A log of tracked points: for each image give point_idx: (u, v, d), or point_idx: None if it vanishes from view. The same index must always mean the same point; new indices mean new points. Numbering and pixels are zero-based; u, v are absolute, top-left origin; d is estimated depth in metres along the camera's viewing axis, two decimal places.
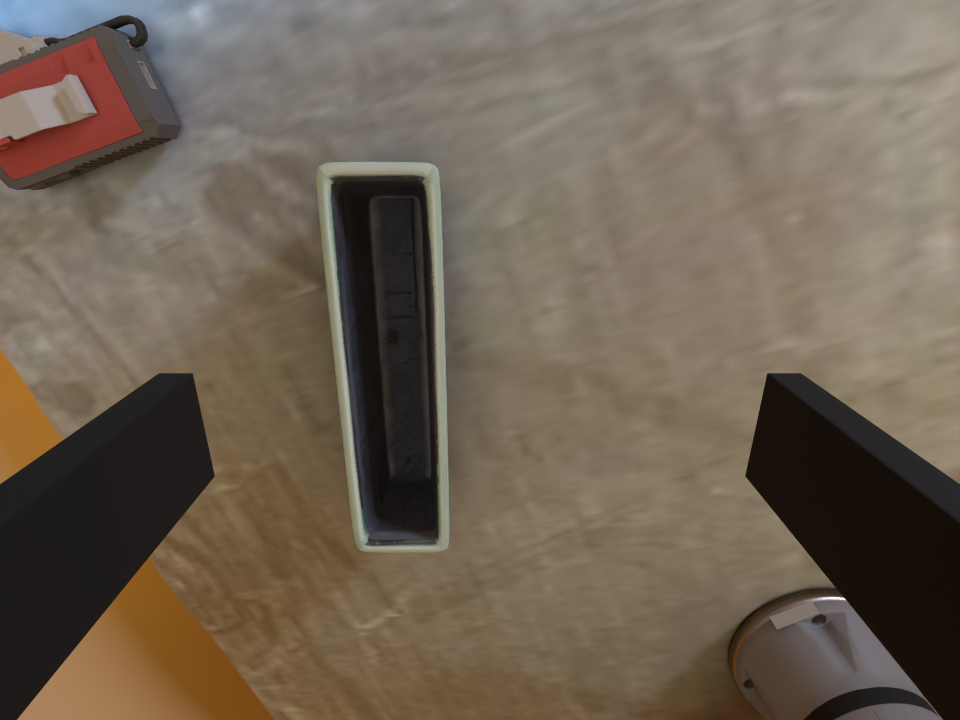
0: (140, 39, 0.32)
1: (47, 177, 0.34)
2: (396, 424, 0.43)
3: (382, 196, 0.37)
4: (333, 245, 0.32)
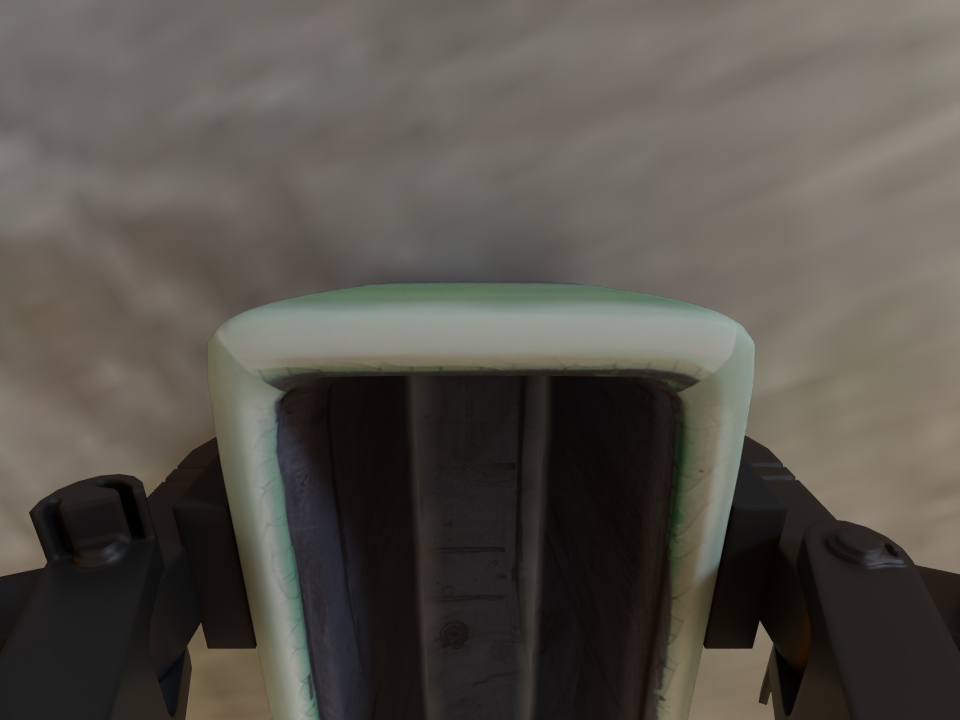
0: None
1: None
2: None
3: None
4: (293, 604, 0.08)
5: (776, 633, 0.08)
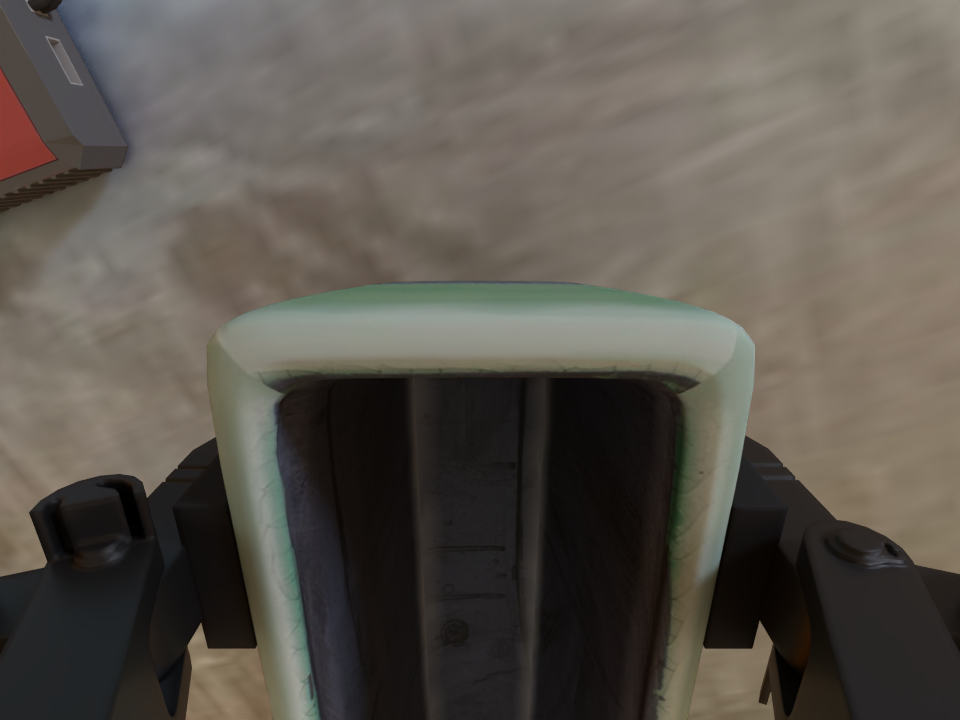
0: None
1: None
2: None
3: None
4: (293, 605, 0.08)
5: (776, 633, 0.08)
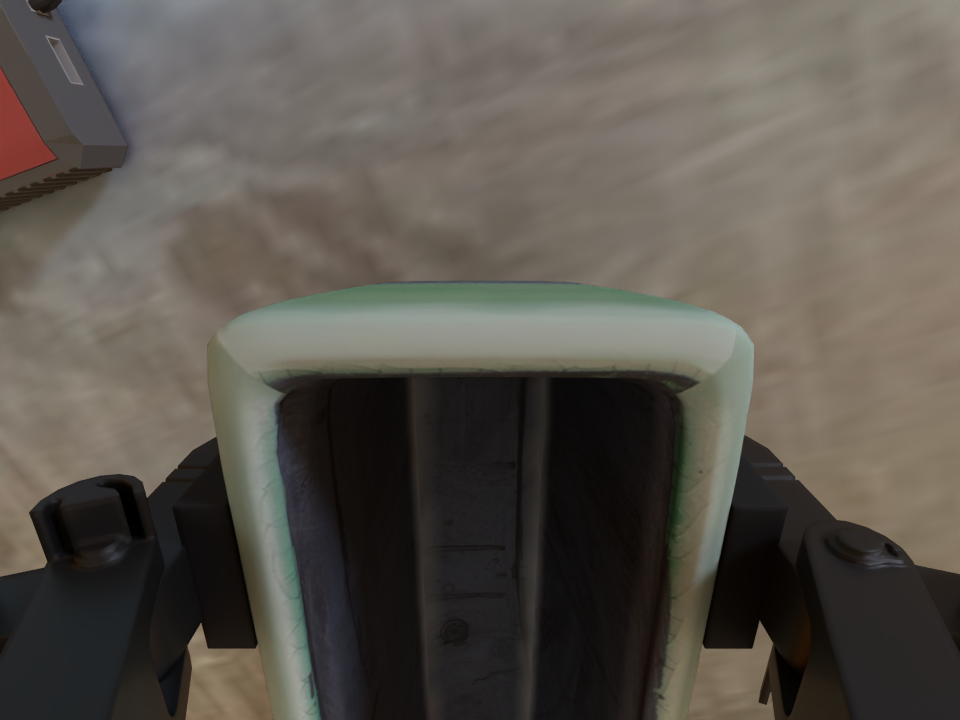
0: None
1: None
2: None
3: None
4: (293, 605, 0.08)
5: (776, 633, 0.08)
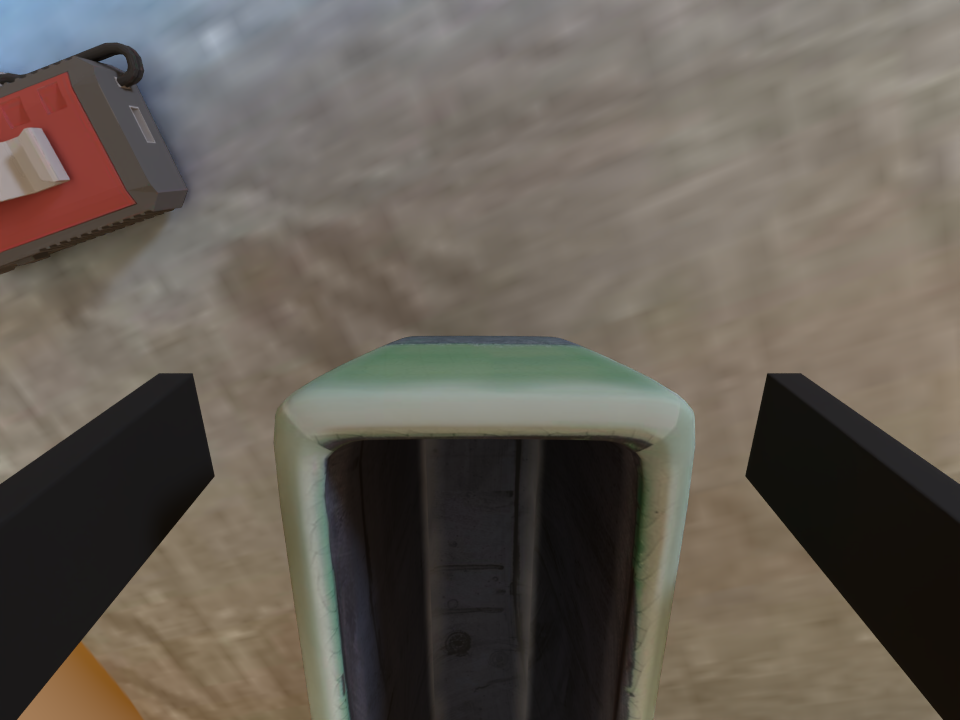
0: (133, 76, 0.23)
1: (1, 264, 0.25)
2: None
3: None
4: (332, 616, 0.10)
5: None
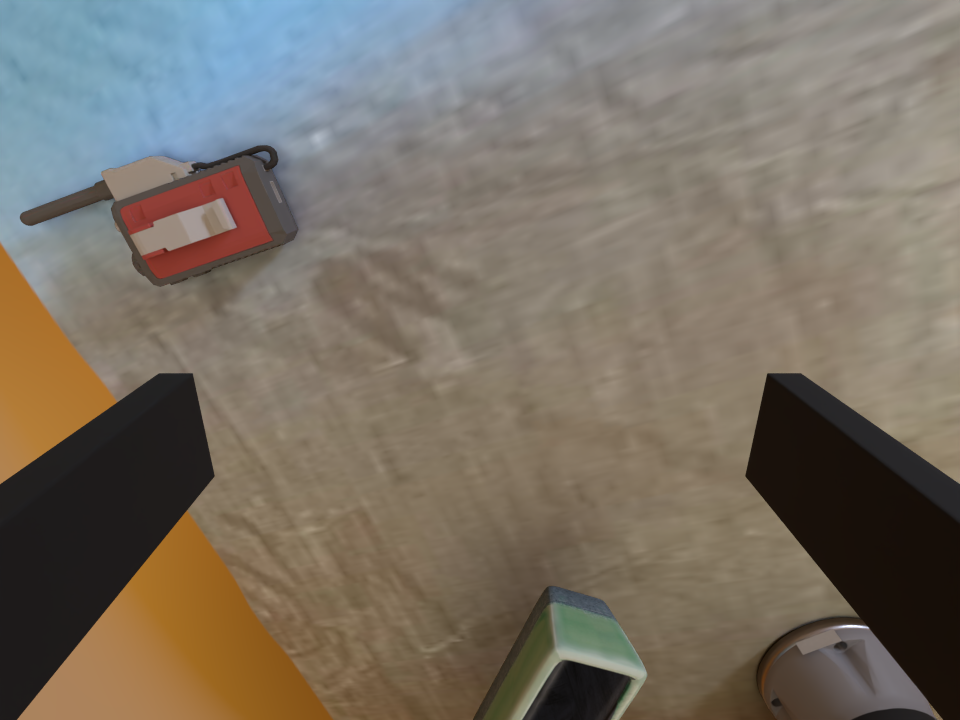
0: (273, 164, 0.38)
1: (187, 276, 0.40)
2: None
3: None
4: (536, 695, 0.36)
5: None
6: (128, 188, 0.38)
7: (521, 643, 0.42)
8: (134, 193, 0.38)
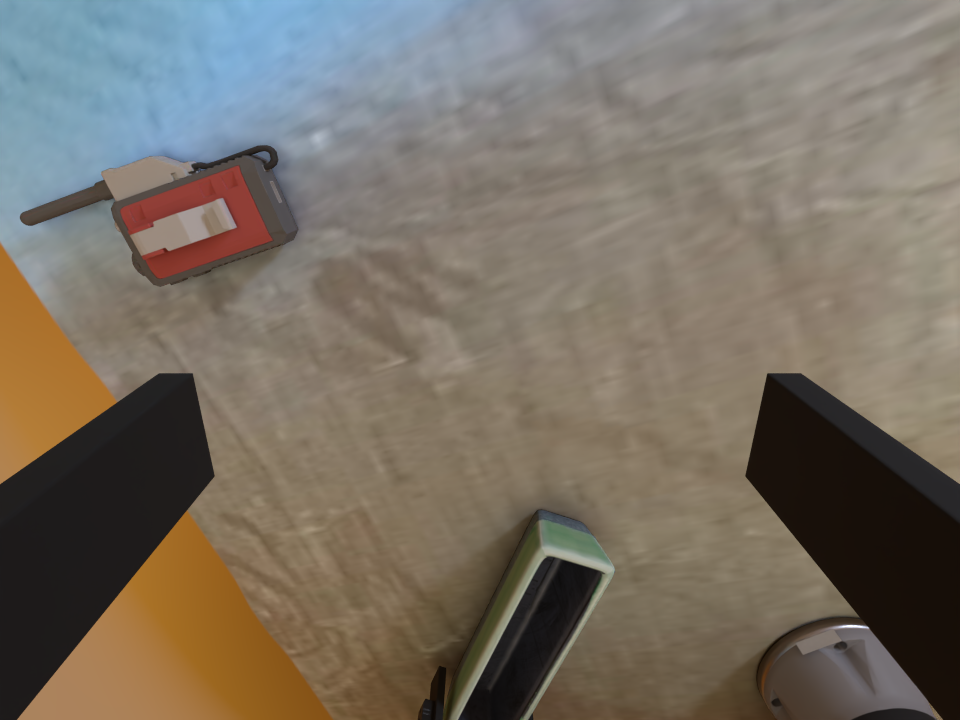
0: (273, 164, 0.38)
1: (187, 276, 0.40)
2: None
3: None
4: (526, 587, 0.46)
5: None
6: (128, 188, 0.38)
7: (515, 556, 0.51)
8: (134, 193, 0.38)
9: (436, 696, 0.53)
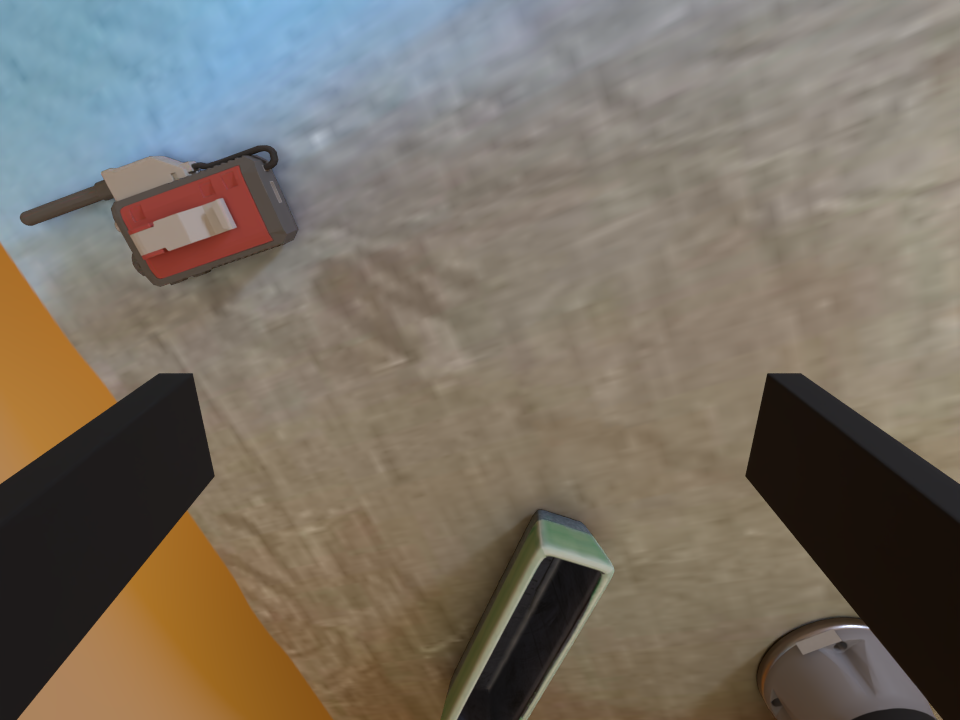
0: (273, 164, 0.38)
1: (187, 276, 0.40)
2: None
3: None
4: (526, 587, 0.46)
5: None
6: (128, 188, 0.38)
7: (515, 556, 0.51)
8: (134, 193, 0.38)
9: None
